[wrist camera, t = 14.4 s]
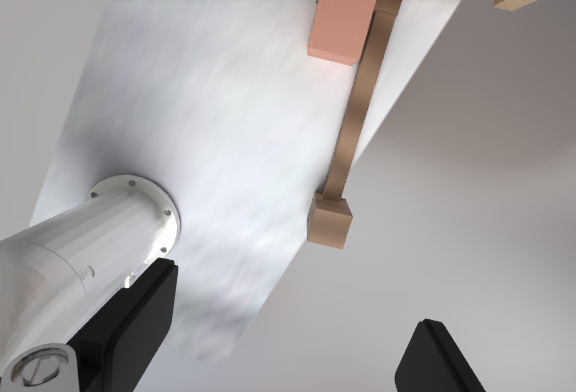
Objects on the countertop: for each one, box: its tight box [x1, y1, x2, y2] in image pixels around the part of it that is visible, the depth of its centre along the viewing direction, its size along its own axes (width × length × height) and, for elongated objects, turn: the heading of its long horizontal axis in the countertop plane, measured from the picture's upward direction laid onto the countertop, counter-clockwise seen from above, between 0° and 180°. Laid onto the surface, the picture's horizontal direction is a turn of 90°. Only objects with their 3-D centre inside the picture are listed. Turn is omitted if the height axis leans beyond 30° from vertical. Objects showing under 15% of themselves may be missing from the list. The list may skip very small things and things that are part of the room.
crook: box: [307, 0, 402, 249], centre depth 31 cm, size 26×9×6 cm, turn 167°
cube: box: [307, 0, 376, 66], centre depth 29 cm, size 5×5×5 cm
